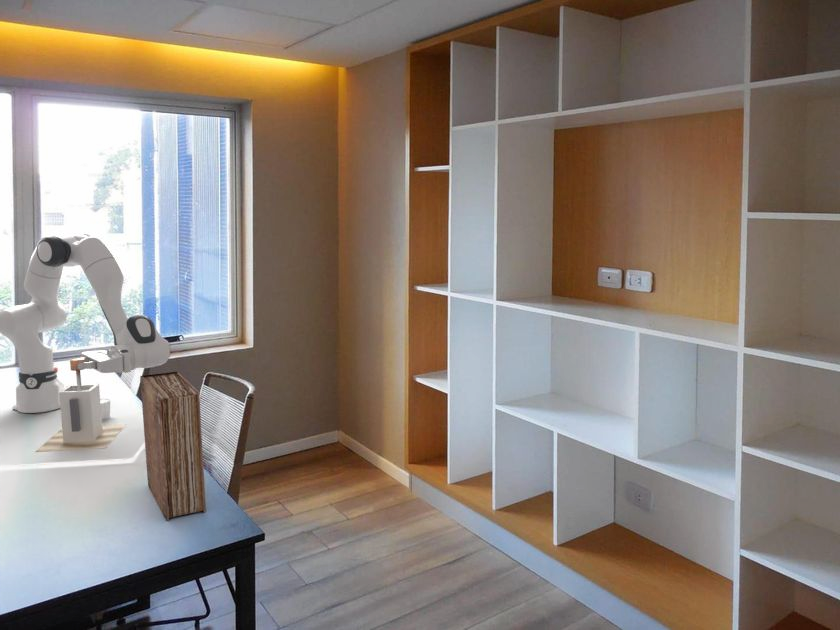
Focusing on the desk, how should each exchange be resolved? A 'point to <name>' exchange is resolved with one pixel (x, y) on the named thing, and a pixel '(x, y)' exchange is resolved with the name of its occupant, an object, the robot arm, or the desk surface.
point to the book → (173, 443)
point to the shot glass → (105, 408)
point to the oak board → (99, 443)
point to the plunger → (77, 371)
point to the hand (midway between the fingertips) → (74, 364)
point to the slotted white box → (80, 413)
